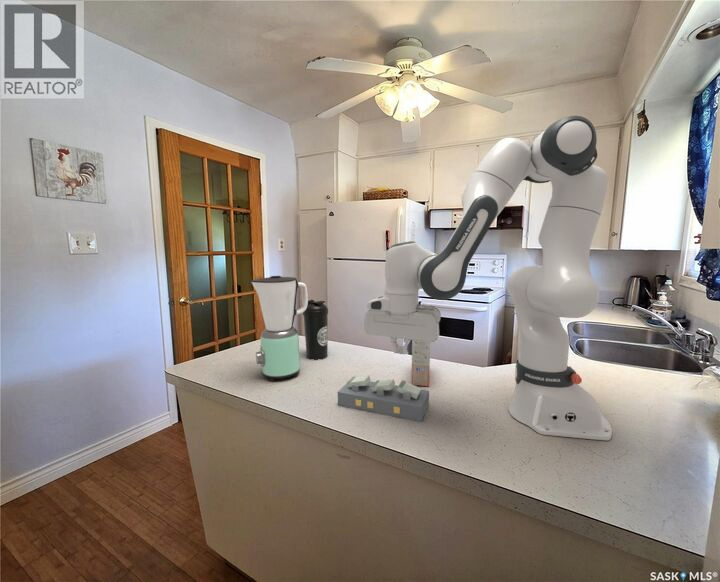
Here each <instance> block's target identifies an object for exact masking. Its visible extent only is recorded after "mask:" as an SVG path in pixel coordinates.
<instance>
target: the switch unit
mask: <svg viewBox="0 0 720 582" xmlns="http://www.w3.org/2000/svg"><path fill="white" fill-rule="evenodd" d="M375 382H376V381H372V380H370V381H369V382H368V383H367V384H366V386H359V385H356V384H352V387H348V384H347V382H346V383H345V384H344V385H343V386H342V387H341V388H340V389H339V390H338V391H337V406H340V407H341V406H342V407H345V408H346V407H347V408H350V409H355V410H360V411H361V410H362V411H366V412H371V413H377V414H380V415H385V416H392V417H395V418H400V419H405V420H410V421H411V420H412V421H415V422H416V421H417V422H421V423H422V421H423V418H424V416H425V414H426V412H427V409H428V407H429V405H430V390H428V389H422V388H421V391H420V393H419V395H418V397H417V399H415V398H413V397H411V394H409V393H401V392H399V391H397V389H398V386H399V385H396V384H395V385H394V386H393V388H392V389H391V390H384V389H380V388H377V389H376V391H373V392H372V388H371V386H372V385H373V384H374V383H375Z"/></svg>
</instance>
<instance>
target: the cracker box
mask: <svg viewBox="0 0 720 582" xmlns="http://www.w3.org/2000/svg"><path fill="white" fill-rule="evenodd" d="M430 364H431V342H427V341H419V340H411V384H412V385H414V386H417V387H419V386H421V387H430V372H431V371H430V368H431V367H430V366H431V365H430Z"/></svg>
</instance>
